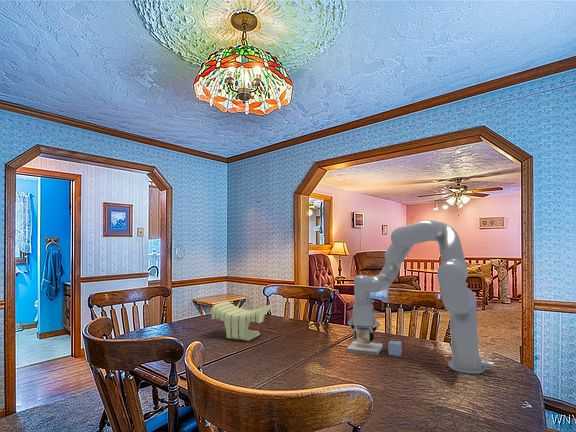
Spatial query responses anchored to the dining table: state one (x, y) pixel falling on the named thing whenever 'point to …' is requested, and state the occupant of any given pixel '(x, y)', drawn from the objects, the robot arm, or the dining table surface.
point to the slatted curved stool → (239, 319)
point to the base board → (365, 348)
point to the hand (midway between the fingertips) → (364, 339)
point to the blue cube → (395, 348)
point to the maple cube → (363, 335)
